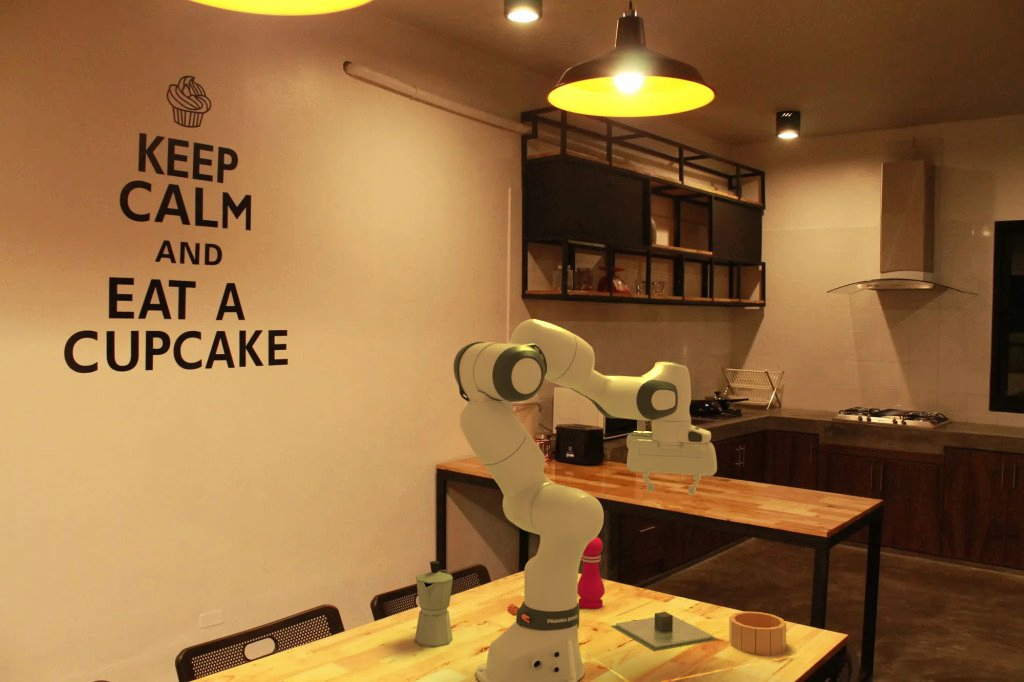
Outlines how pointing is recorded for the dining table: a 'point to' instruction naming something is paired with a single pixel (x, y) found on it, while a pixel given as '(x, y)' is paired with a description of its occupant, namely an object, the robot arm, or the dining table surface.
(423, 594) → the coffee maker
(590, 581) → the pepper mill
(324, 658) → the dining table surface
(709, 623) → the dining table surface
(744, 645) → the bowl
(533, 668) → the robot arm
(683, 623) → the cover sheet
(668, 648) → the rubber mat
